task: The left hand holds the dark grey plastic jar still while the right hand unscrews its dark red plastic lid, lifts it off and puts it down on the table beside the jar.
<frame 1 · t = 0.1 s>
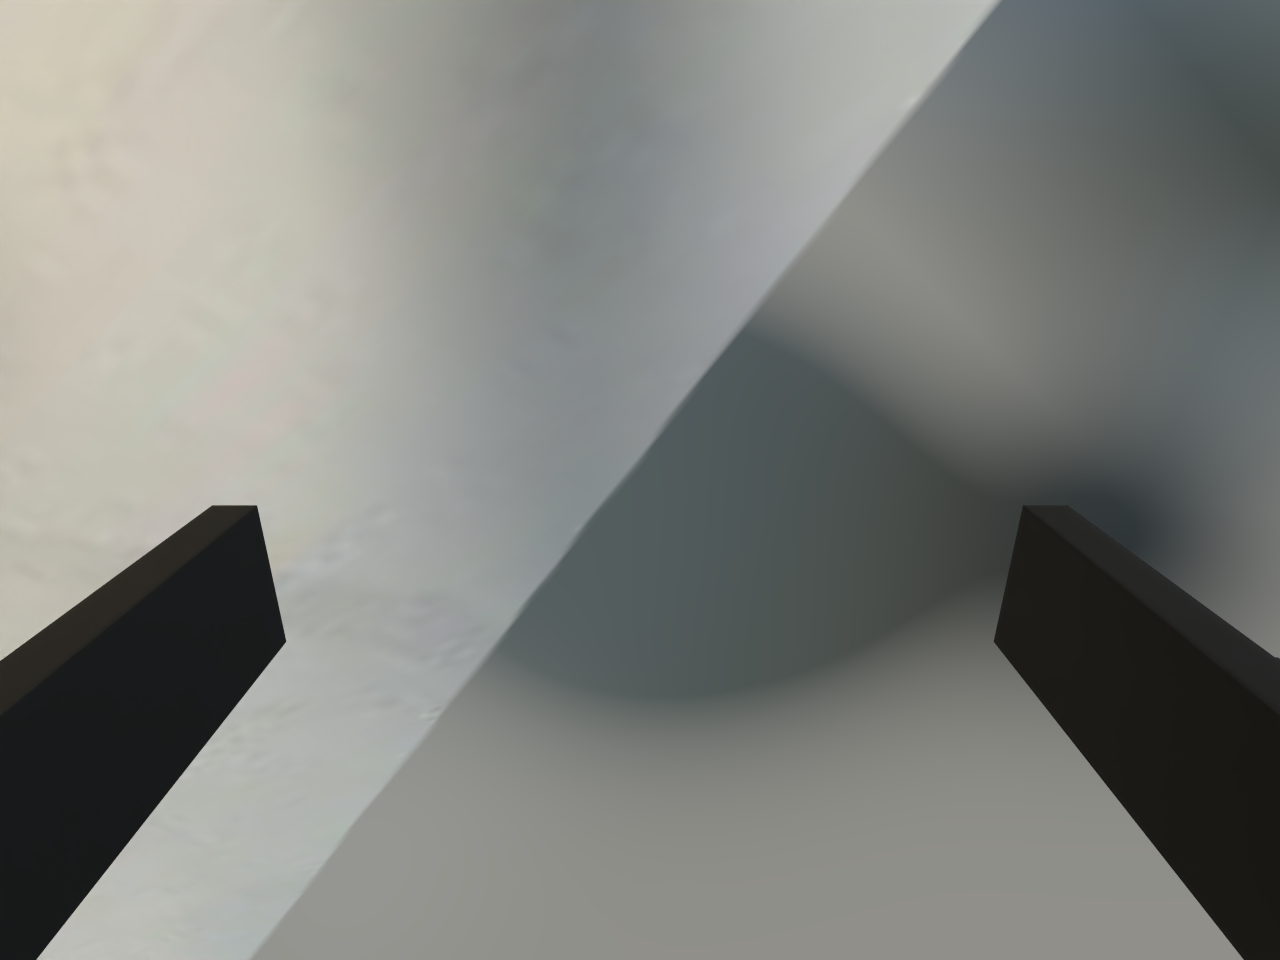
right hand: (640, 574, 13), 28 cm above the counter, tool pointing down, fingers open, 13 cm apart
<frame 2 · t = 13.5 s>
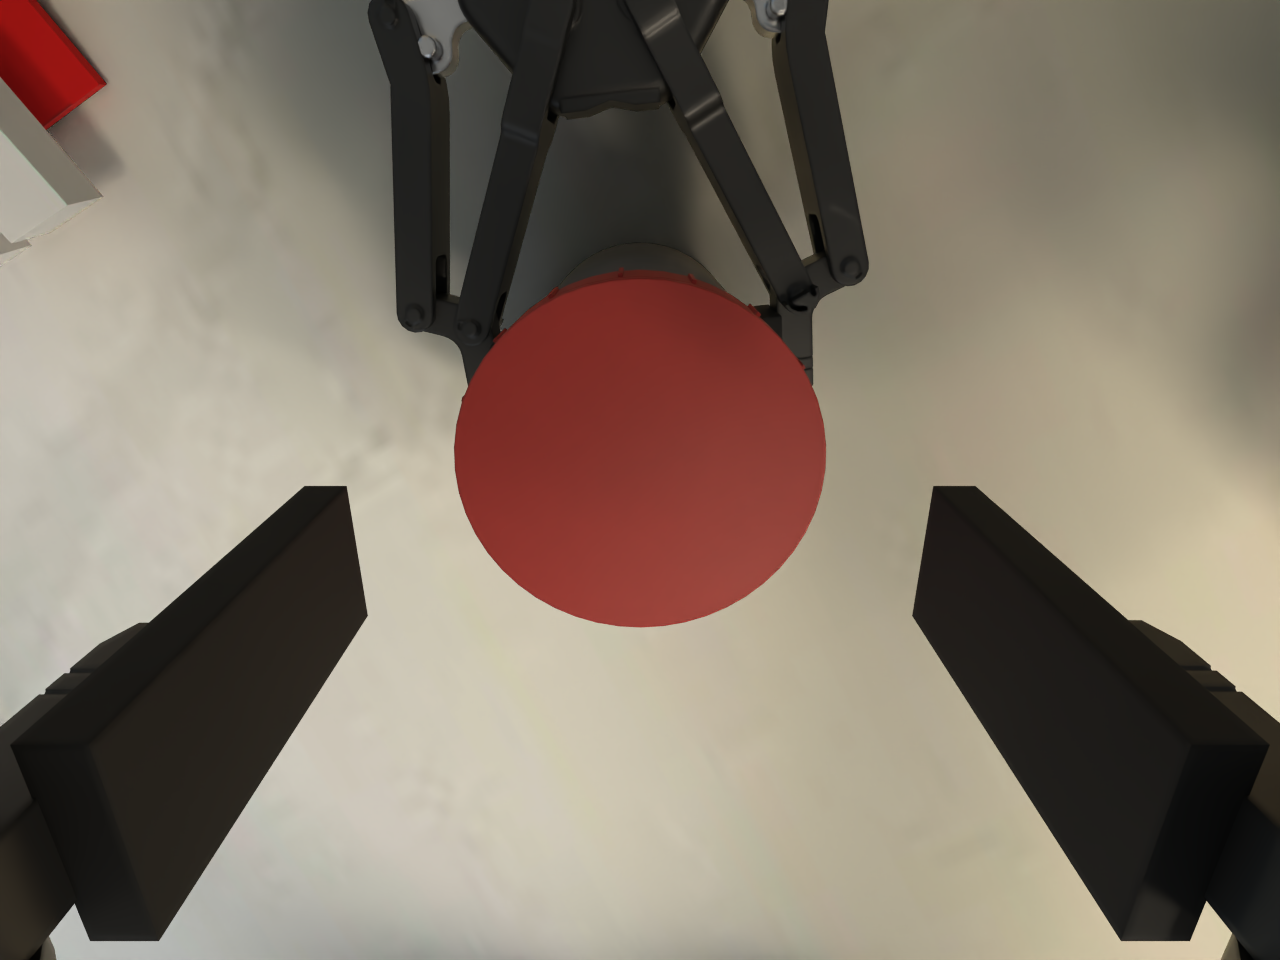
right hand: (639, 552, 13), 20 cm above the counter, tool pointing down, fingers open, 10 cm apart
jar: (640, 342, 32), on the counter, touching left hand
lid: (640, 464, 18), point 15 cm above the counter, screwed on, not yet turned
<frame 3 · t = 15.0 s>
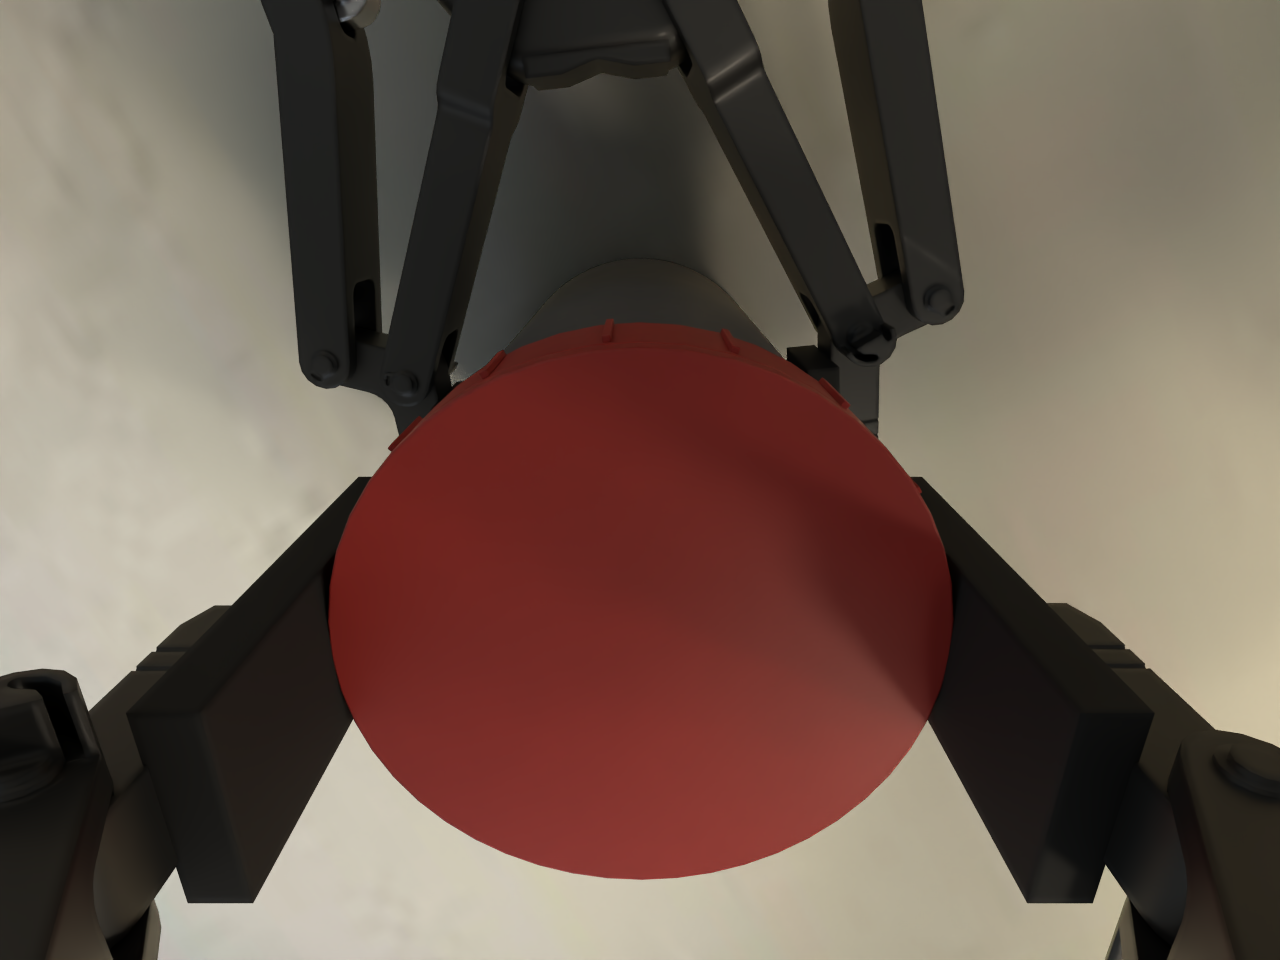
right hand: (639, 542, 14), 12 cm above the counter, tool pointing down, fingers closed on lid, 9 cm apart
jar: (640, 385, 25), on the counter, touching left hand
lid: (640, 642, 11), point 15 cm above the counter, screwed on, not yet turned, touching right hand
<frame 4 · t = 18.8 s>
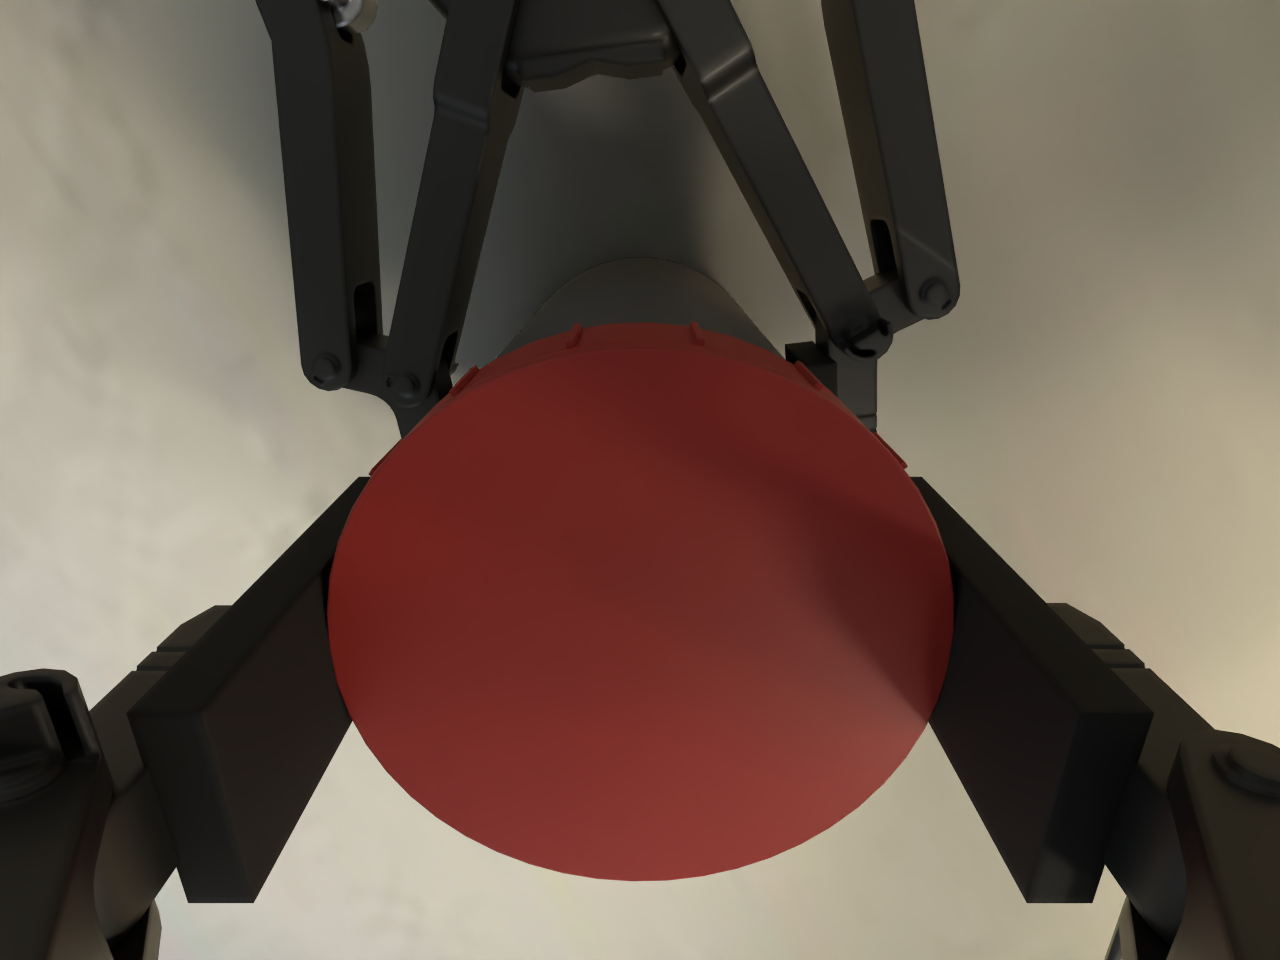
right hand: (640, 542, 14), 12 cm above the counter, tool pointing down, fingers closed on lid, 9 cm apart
jar: (640, 383, 25), on the counter, touching left hand
lid: (640, 643, 11), point 16 cm above the counter, turned 132° so far, risen 0.2 cm, still on its thread, touching right hand
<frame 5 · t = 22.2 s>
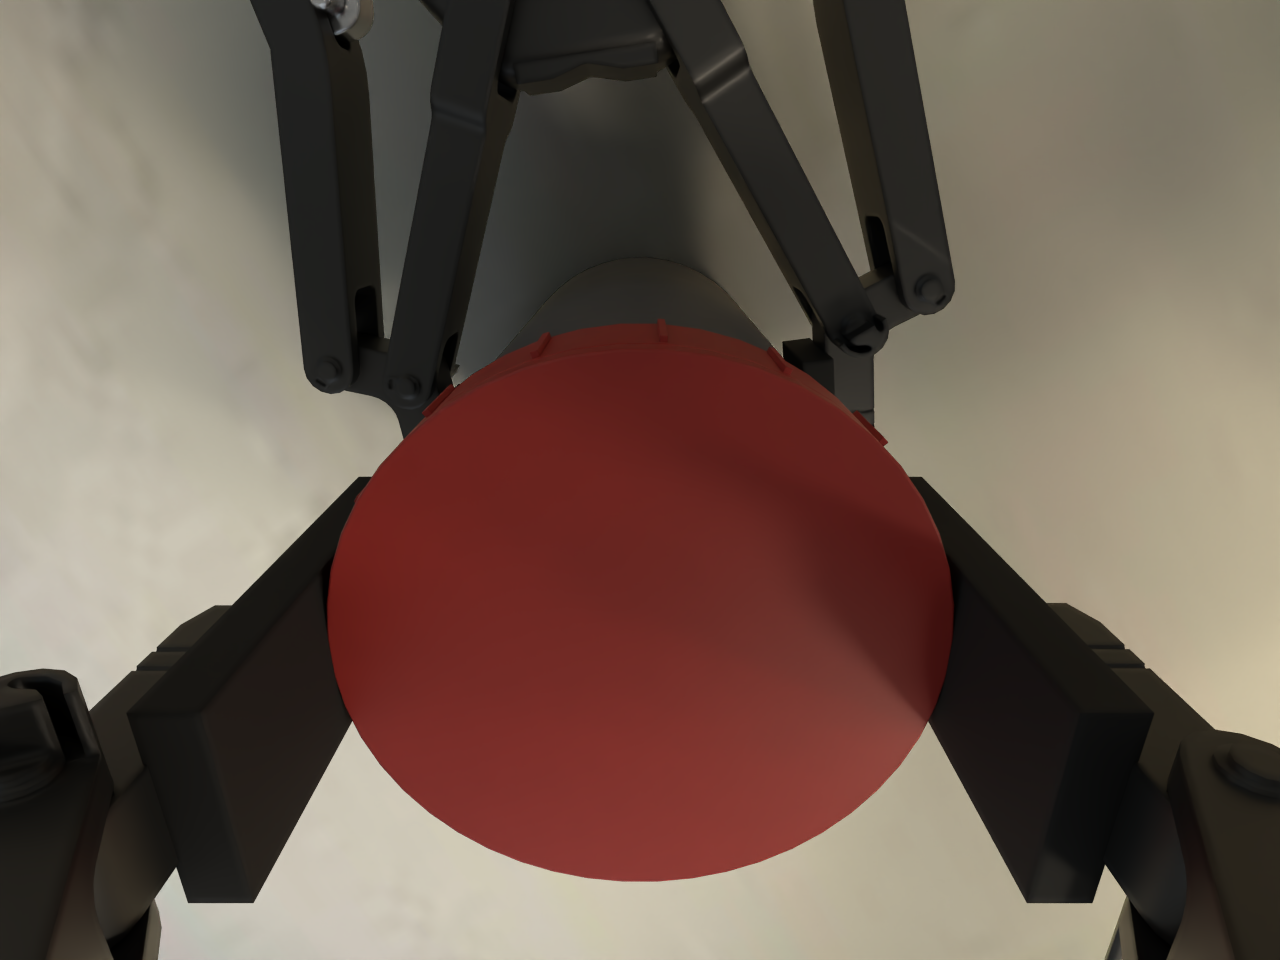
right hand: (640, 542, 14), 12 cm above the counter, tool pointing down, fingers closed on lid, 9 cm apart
jar: (640, 382, 25), on the counter, touching left hand
lid: (640, 644, 11), point 16 cm above the counter, turned 264° so far, risen 0.4 cm, still on its thread, touching right hand
when the right hand's fingers open (0 cm above the counter, at t = 29.1 s): lid drops 2 cm, point 2 cm above the counter.
when the left hand's fingers open (6 cm above the counter, at t = 30.8 s): jar stays where it is, on the counter.
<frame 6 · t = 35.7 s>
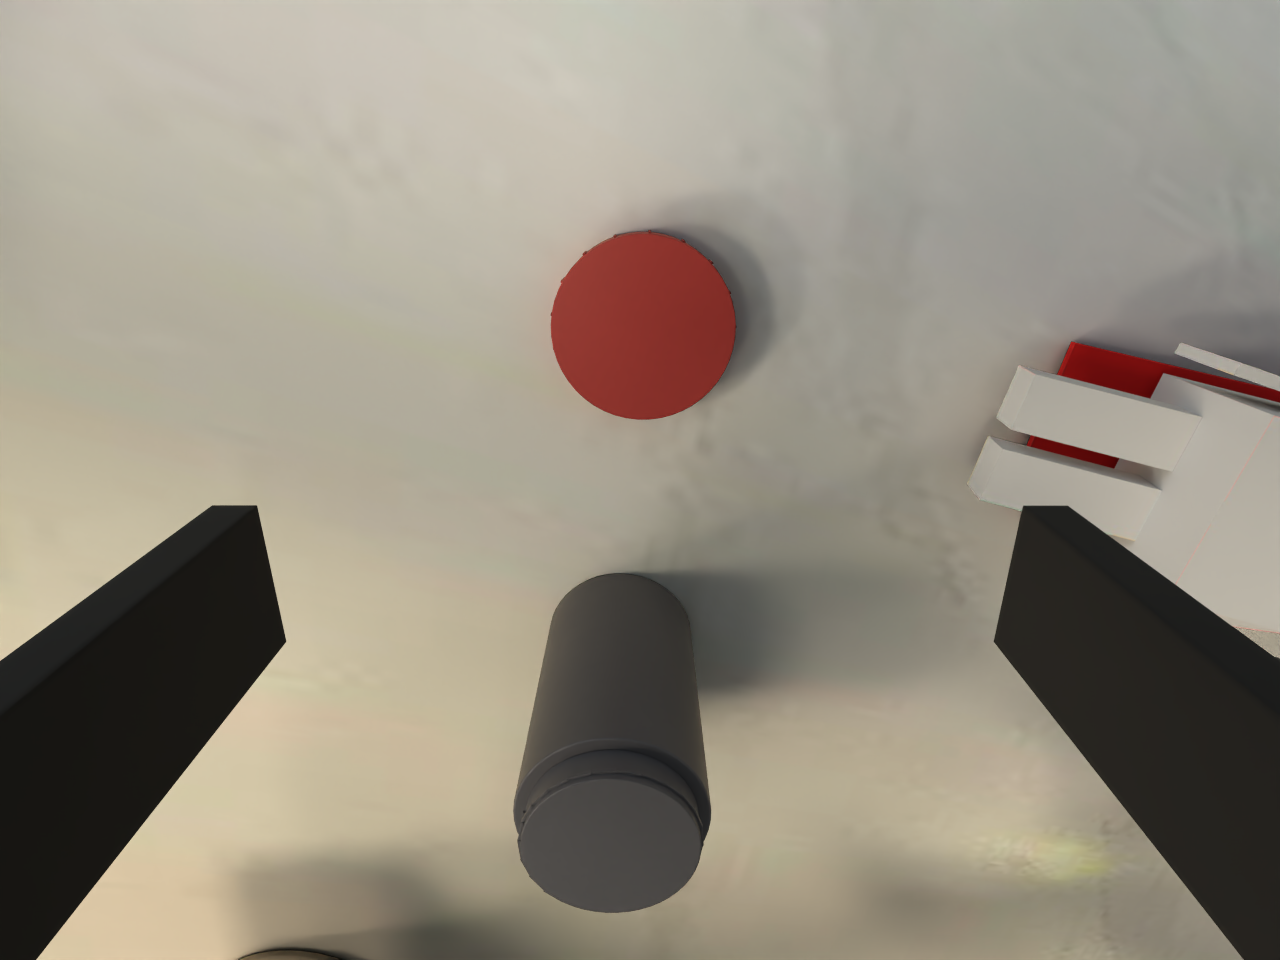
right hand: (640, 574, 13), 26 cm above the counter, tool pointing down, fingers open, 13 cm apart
jar: (620, 634, 44), on the counter
toy: (1218, 471, 40), on the counter
lid: (643, 329, 35), point 2 cm above the counter, off its thread
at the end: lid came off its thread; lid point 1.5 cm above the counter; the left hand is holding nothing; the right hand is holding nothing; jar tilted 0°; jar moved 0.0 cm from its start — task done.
